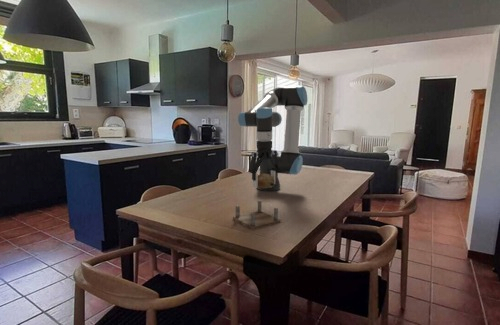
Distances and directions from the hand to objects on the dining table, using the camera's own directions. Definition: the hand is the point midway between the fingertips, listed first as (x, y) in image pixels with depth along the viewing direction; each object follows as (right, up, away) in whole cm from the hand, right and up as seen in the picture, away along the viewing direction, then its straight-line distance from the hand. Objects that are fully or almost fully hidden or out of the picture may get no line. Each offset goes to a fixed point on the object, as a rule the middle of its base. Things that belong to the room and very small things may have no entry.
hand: (264, 185), depth 139 cm
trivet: (-4, -15, -16) cm, 22 cm away
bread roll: (0, -1, 0) cm, 1 cm away
